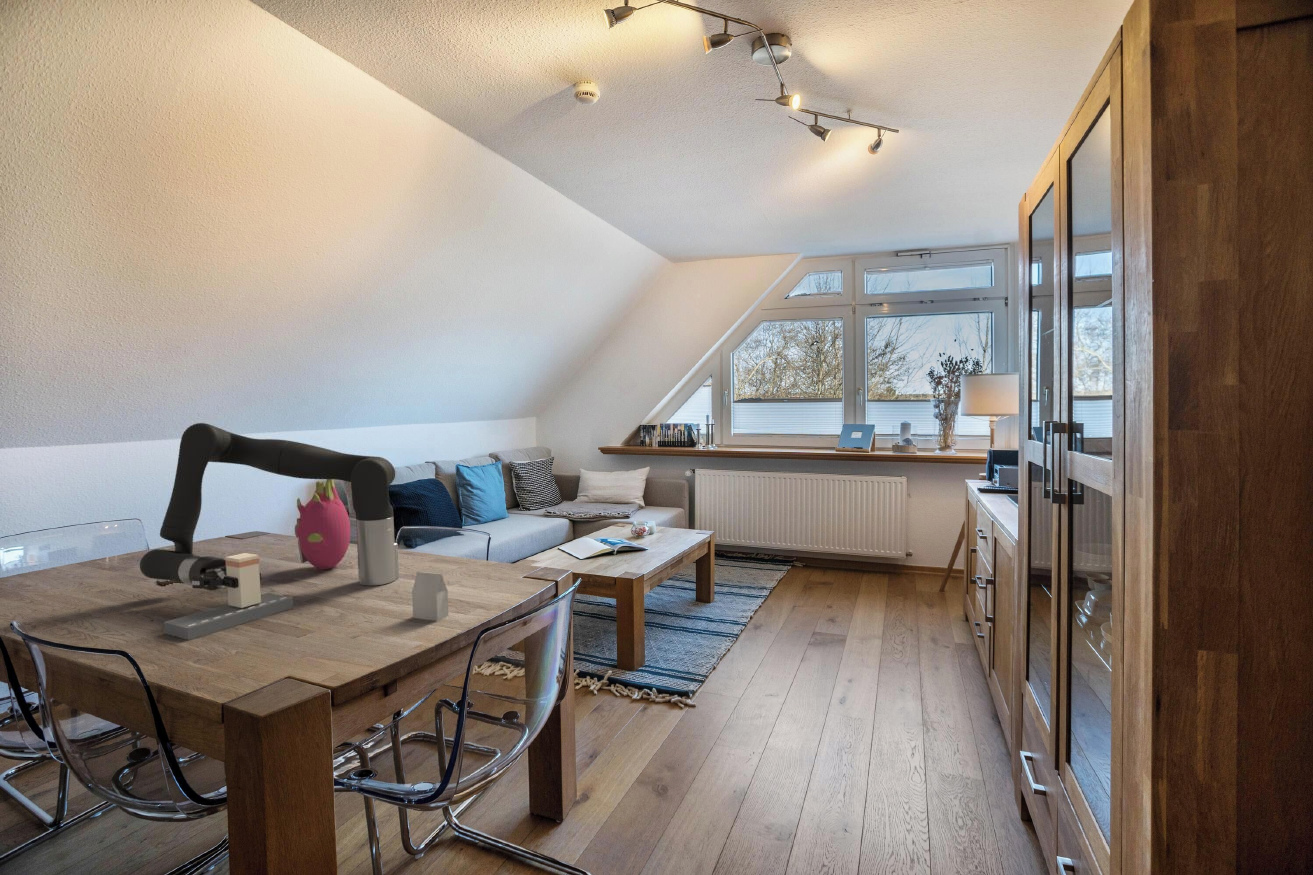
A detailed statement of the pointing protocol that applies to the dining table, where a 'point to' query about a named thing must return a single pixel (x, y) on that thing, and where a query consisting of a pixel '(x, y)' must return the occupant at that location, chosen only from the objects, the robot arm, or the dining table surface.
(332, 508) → the pink dragon fruit
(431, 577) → the grey milk carton
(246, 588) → the cream block
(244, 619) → the toy road segment
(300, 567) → the dining table surface
